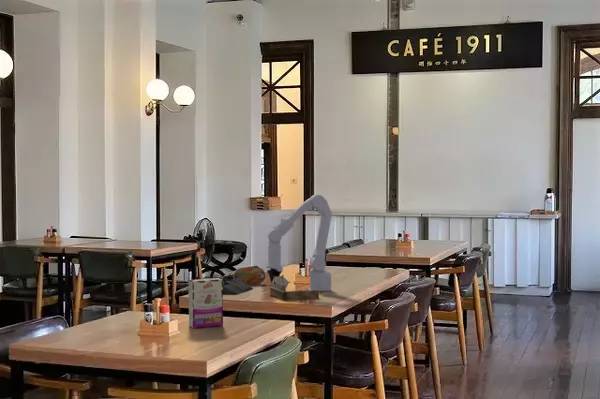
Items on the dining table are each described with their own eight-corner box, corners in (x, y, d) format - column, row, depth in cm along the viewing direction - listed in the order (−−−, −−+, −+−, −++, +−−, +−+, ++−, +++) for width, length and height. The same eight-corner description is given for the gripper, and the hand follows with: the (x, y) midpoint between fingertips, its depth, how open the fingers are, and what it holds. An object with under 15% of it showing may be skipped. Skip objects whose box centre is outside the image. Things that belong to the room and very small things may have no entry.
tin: (234, 285, 372) (234, 267, 372) (233, 284, 375) (233, 267, 375) (265, 284, 375) (265, 267, 375) (264, 283, 378) (264, 266, 378)
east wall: (273, 295, 341) (273, 287, 341) (286, 300, 328) (287, 292, 328) (270, 295, 341) (270, 287, 340) (283, 300, 327) (283, 292, 327)
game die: (283, 301, 348) (289, 285, 343) (265, 294, 348) (271, 278, 343) (287, 289, 356) (293, 273, 350) (270, 282, 356) (276, 266, 350)
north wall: (317, 297, 335) (317, 289, 335) (318, 298, 334) (318, 290, 334) (282, 299, 328) (282, 291, 328) (283, 300, 327) (283, 292, 327)
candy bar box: (218, 323, 274) (218, 277, 273) (223, 326, 269) (223, 279, 269) (187, 326, 269) (188, 279, 268) (192, 328, 264) (193, 281, 264)
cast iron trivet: (205, 294, 345) (205, 283, 345) (224, 287, 366) (225, 277, 366) (237, 296, 341) (237, 285, 340) (255, 289, 362) (255, 279, 361)
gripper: (260, 254, 360) (260, 283, 360) (272, 257, 346) (272, 287, 347) (274, 254, 362) (274, 283, 363) (286, 257, 349) (286, 287, 350)
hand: (274, 285), depth 355 cm, fingers closed
